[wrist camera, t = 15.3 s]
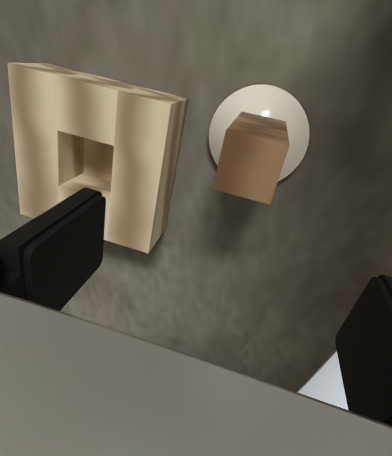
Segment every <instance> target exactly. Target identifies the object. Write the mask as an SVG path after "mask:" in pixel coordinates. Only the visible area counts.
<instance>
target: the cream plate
mask: <svg viewBox="0 0 392 456" xmlns="http://www.w3.org/2000/svg"><path fill="white" fill-rule="evenodd" d="M242 111H243V112H247V113H251V114H256V115H260V116H264V117H269V118H273V119H277V120H282V121H286V125H287V132H288V138H289V144H290V146H289V149H288V152H287V155H286V158H285V161H284V164H283V167H282V170H281V173H280V176H279V179H278V181H280V180H282V179H283V178H285V177H287V176H288V175H289V174H291V173H292V172H293V171H294V170H295V169H296V167H297V166H298V165H299V164H300V162H301V161H302V159H303V157H304V155H305V153H306V150H307V147H308V142H309V124H308V120H307V116H306V114H305V111H304V110H303V108H302V106H301V105H300V103H299V102H298V101H297V100H296V99H295V98H294V97H293V96H292V95H291V94H290V93H288V92H287V91H285V90H283V89H281V88H279V87H276V86H272V85H266V84H258V85H251V86H248V87H245V88H242V89H240V90H238V91H236V92H234V93H233V94H231V95H230V96H229V97H227V98H226V99H225V100H224V101H223V102H222V104H221V105H220V106H219V107H218V109H217V111H216V112H215V114H214V116H213V119H212V121H211V125H210V129H209V146H210V151H211V154H212V157H213V159H214V161H215V163H216V164H217V166H218V163H219V158H220V154H221V149H222V145H223V141H224V136H225V132H226V130H227V128H228V127H229V126H230V125H231V124H232V122H233V121H234V120H235V119H236V118H237V116H238V115H239V114H240V113H241V112H242Z"/></svg>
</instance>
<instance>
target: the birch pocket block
mask: <svg viewBox="0 0 392 456" xmlns="http://www.w3.org/2000/svg"><path fill="white" fill-rule="evenodd" d="M8 74H9V86H10V98H11V109H12V121H13V133H14V145H15V157H16V168H17V180H18V192H19V204H20V214H22V215H25V216H29V217H32V218H36V217H37V216H39V215H41V214H42V213H44V212H45V211H47V210H49V209H50V208H52V207H53V206H55V205H57V204H58V203H60V202H61V201H63V200H65V199H66V198H68V197H69V196H71V195H73V194H74V193H76V192H77V191H79V190H80V189H82V188H84V187H87V188H90V189H93V190H97V191H100V192H101V193H102V196H103V197H105V198H106V210H105V227H104V240H106V241H110V242H113V243H116V244H119V245H122V246H126V247H129V248H132V249H135V250H139V251H142V252H145V253H149V252H150V250H151V249H152V248H153V246H154V245H155V243H156V242H157V240H158V239H159V238H160V236H161V235H162V233H163V232H164V230H165V227H166V221H167V216H168V210H169V204H170V199H171V193H172V188H173V182H174V176H175V171H176V165H177V159H178V154H179V148H180V142H181V137H182V131H183V125H184V120H185V114H186V108H187V103H188V98H184V97H180V96H176V95H172V94H168V93H164V92H160V91H156V90H152V89H148V88H144V87H140V86H136V85H132V84H128V83H124V82H120V81H116V80H112V79H108V78H104V77H100V76H96V75H92V74H88V73H84V72H80V71H76V70H72V69H68V68H64V67H60V66H56V65H52V64H43V63H8Z"/></svg>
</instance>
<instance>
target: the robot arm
mask: <svg viewBox="0 0 392 456" xmlns="http://www.w3.org/2000/svg"><path fill="white" fill-rule="evenodd" d="M105 210H106V198H105V197H103V196H102V193H101V192H100V191H97V190H93V189H90V188H87V187H84V188H82V189H80V190H79V191H77V192H76V193H74V194H73V195H71V196H69V197H68V198H66V199H65V200H63V201H61V202H60V203H58V204H57V205H55V206H53V207H52V208H50V209H49V210H47V211H45V212H44V213H42V214H41V215H39V216H37V217H36V218H34V219H33V220H31V221H29V222H28V223H26V224H25V225H23V226H22V227H20V228H18V229H17V230H15V231H14V232H12V233H10V234H9V235H7V236H6V237H4V238H2V239H1V240H0V456H392V277H389V276H385V275H380V276H378V277H377V278H376V277H373V278H371V280H370V281H369V283H368V284H367V286H366V288H365V289H364V291H363V292H362V294H361V296H360V297H359V299H358V301H357V302H356V304H355V305H354V307H353V309H352V310H351V312H350V314H349V315H348V317H347V318H346V320H345V322H344V323H343V325H342V327H341V328H340V330H339V331H338V333H337V336H336V348H337V353H338V358H339V364H340V369H341V374H342V379H343V384H344V389H345V394H346V399H347V404H348V410H349V411H348V410H345V409H342V408H340V407H337V406H334V405H331V404H328V403H325V402H323V401H320V400H317V399H314V398H311V397H308V396H305V395H303V394H300V393H297V392H294V391H291V390H288V389H286V388H283V387H280V386H277V385H274V384H271V383H269V382H266V381H263V380H260V379H257V378H254V377H251V376H249V375H246V374H243V373H240V372H237V371H234V370H231V369H228V368H225V367H223V366H220V365H217V364H214V363H211V362H208V361H205V360H202V359H199V358H196V357H194V356H191V355H188V354H185V353H182V352H179V351H176V350H173V349H170V348H167V347H164V346H162V345H159V344H156V343H153V342H150V341H147V340H144V339H141V338H138V337H135V336H132V335H129V334H126V333H123V332H120V331H117V330H115V329H112V328H109V327H106V326H103V325H100V324H97V323H94V322H91V321H88V320H85V319H82V318H79V317H76V316H73V315H70V314H67V313H64V312H61V311H60V310H61V309H62V308H63V307H64V306H65V304H66V303H67V302H68V301H69V300H70V299H71V298H72V297H73V296H74V294H75V293H76V292H77V291H78V290H79V289H80V288H81V287H82V285H83V284H84V283H85V282H86V281H87V280H88V279H89V278H90V277H91V275H92V274H93V273H94V272H95V271H96V270H97V269H98V268H99V266H100V264H101V262H102V259H103V244H104V227H105Z"/></svg>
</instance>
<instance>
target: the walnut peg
mask: <svg viewBox="0 0 392 456" xmlns="http://www.w3.org/2000/svg"><path fill="white" fill-rule="evenodd" d="M289 146H290V144H289V138H288V132H287V125H286V121H282V120H277V119H273V118H269V117H264V116H260V115H256V114H251V113H247V112H243V111H242V112H241V113H240V114H239V115H238V116H237V118H236V119H235V120H234V121H233V122H232V124H231V125H230V126H229V127H228V128H227V130H226V132H225V136H224V141H223V145H222V149H221V154H220V158H219V163H218V167H217V171H216V176H215V180H214V185H213V190H217V191H220V192H224V193H228V194H232V195H236V196H239V197H243V198H247V199H251V200H255V201H258V202H262V203H266V204H270V203H271V200H272V197H273V194H274V191H275V188H276V185H277V182H278V179H279V176H280V173H281V170H282V167H283V164H284V161H285V158H286V155H287V152H288V149H289Z"/></svg>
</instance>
